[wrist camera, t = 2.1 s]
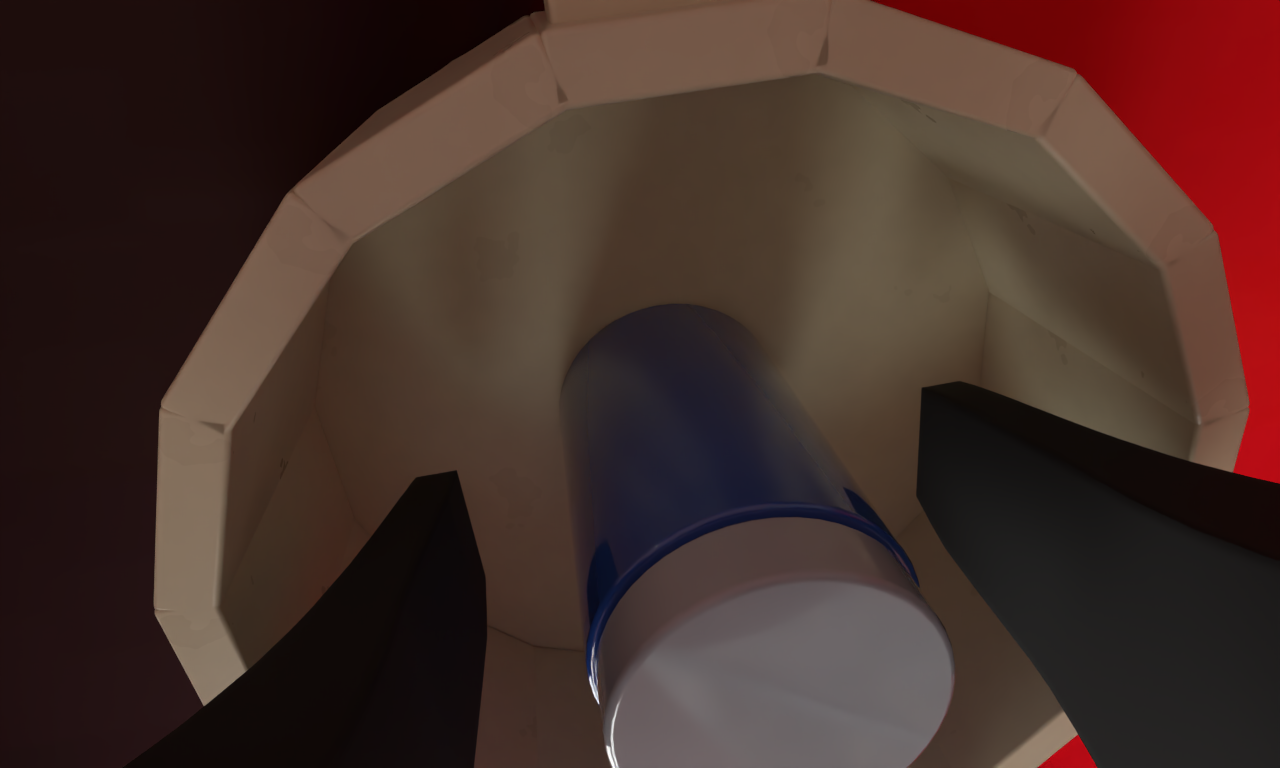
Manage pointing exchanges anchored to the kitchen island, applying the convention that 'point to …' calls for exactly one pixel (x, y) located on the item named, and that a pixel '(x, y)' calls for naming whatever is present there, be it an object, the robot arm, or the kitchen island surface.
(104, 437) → the kitchen island surface
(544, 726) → the pot
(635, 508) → the salt shaker
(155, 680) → the kitchen island surface
